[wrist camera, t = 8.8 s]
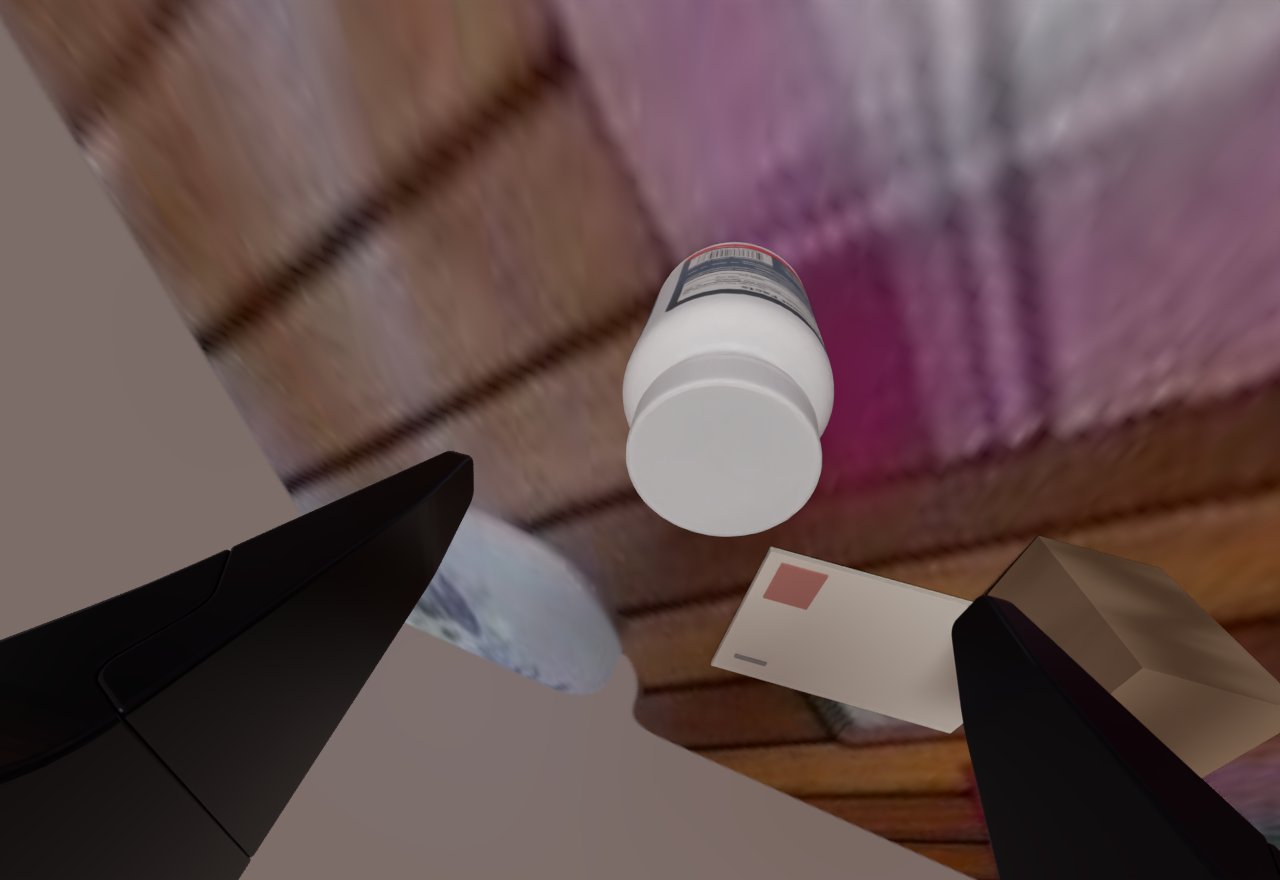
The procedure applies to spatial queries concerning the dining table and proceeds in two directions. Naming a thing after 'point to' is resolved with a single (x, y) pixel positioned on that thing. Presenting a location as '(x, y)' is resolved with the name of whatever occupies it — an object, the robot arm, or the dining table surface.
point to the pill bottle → (728, 394)
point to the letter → (848, 639)
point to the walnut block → (1148, 649)
